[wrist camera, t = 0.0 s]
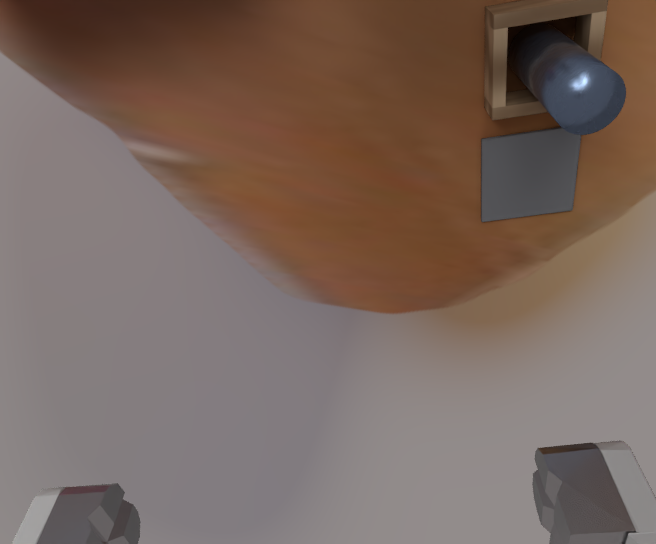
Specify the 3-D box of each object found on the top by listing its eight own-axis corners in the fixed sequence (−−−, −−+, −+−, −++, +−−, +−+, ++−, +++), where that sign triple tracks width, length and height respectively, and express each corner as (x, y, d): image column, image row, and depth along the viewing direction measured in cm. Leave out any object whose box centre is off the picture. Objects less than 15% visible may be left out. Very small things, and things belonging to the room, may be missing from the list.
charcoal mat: (481, 138, 57) (482, 140, 56) (580, 124, 56) (582, 125, 55) (481, 220, 63) (481, 222, 62) (571, 208, 61) (572, 210, 61)
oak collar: (485, 6, 49) (493, 15, 46) (593, -12, 48) (608, -5, 45) (484, 107, 55) (492, 120, 52) (581, 92, 54) (594, 105, 51)
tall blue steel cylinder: (509, 28, 50) (558, 74, 39) (564, 18, 50) (630, 62, 38) (507, 82, 53) (552, 139, 42) (560, 74, 53) (620, 129, 41)
